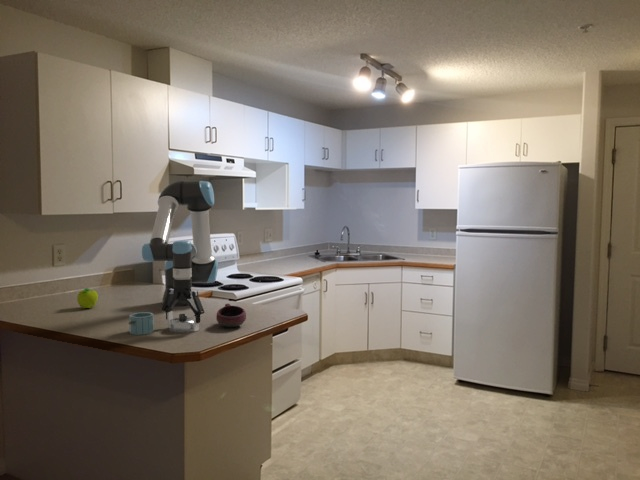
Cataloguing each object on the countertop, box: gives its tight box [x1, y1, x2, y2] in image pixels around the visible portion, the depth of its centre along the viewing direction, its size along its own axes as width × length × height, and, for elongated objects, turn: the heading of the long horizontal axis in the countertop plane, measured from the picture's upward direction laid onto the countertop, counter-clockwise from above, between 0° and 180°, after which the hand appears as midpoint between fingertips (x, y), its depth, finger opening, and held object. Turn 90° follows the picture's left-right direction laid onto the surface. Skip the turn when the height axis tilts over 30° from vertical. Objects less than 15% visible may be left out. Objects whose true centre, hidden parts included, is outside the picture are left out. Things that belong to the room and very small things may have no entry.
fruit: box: [76, 287, 99, 309], centre depth 261 cm, size 9×9×10 cm
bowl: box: [215, 303, 247, 328], centre depth 228 cm, size 16×13×8 cm
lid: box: [169, 313, 195, 334], centre depth 222 cm, size 11×11×6 cm
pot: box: [128, 311, 155, 336], centre depth 218 cm, size 13×9×7 cm
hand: (183, 329), depth 222 cm, fingers open, 12 cm apart
